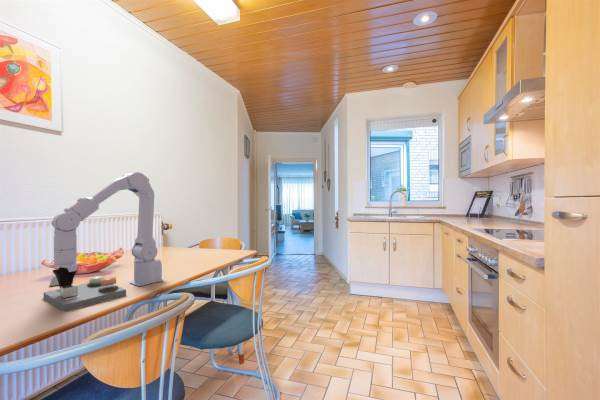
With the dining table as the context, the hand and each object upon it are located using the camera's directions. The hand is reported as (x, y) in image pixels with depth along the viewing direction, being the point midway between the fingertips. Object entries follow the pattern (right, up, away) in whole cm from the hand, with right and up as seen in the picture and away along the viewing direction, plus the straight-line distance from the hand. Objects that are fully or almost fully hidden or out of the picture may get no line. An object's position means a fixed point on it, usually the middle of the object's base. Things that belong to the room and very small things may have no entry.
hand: (65, 290), depth 89 cm
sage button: (+3, -1, +10) cm, 11 cm away
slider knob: (+3, -1, -2) cm, 4 cm away
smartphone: (-20, -4, +21) cm, 30 cm away
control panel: (+4, -3, +3) cm, 6 cm away
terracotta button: (+11, +1, +5) cm, 12 cm away
